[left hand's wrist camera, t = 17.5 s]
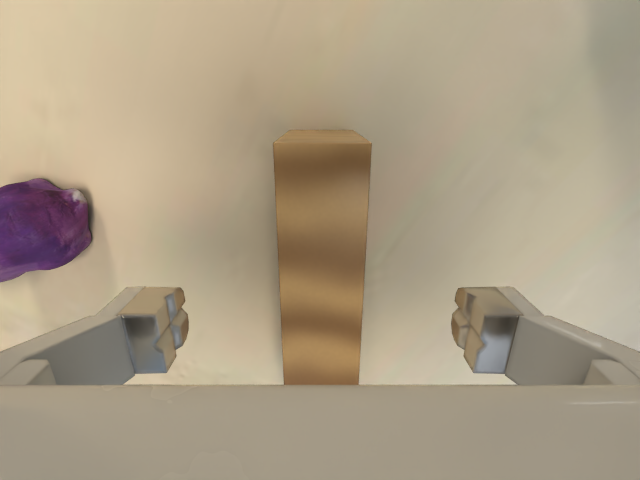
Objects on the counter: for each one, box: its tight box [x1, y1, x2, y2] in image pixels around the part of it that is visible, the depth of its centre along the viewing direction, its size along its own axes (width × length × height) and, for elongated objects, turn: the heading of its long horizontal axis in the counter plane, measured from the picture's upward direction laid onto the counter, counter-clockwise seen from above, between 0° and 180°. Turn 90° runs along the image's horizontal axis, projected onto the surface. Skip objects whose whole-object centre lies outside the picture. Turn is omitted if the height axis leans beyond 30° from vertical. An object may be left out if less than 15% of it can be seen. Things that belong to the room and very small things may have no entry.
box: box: [273, 130, 372, 385], centre depth 31 cm, size 26×6×12 cm, turn 0°
